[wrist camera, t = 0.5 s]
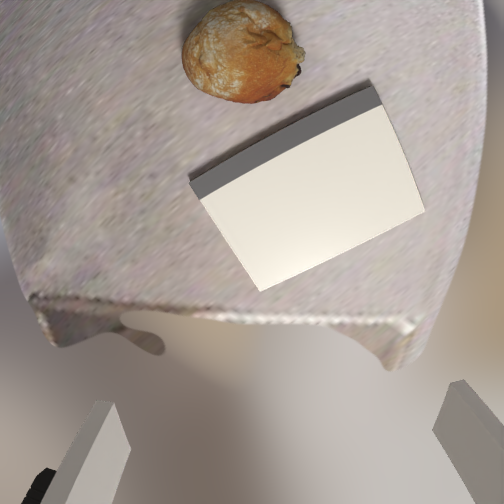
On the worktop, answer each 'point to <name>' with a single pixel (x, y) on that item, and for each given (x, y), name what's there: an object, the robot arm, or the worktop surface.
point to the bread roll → (242, 53)
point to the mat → (311, 189)
